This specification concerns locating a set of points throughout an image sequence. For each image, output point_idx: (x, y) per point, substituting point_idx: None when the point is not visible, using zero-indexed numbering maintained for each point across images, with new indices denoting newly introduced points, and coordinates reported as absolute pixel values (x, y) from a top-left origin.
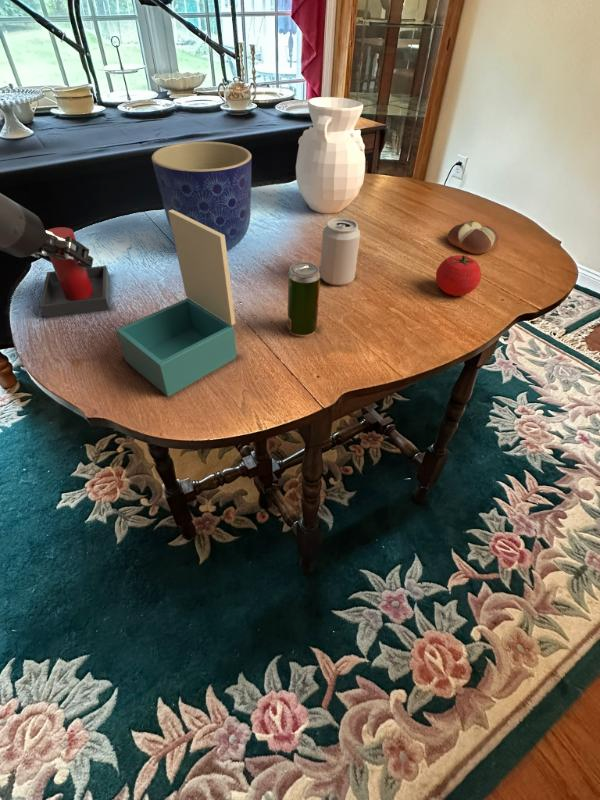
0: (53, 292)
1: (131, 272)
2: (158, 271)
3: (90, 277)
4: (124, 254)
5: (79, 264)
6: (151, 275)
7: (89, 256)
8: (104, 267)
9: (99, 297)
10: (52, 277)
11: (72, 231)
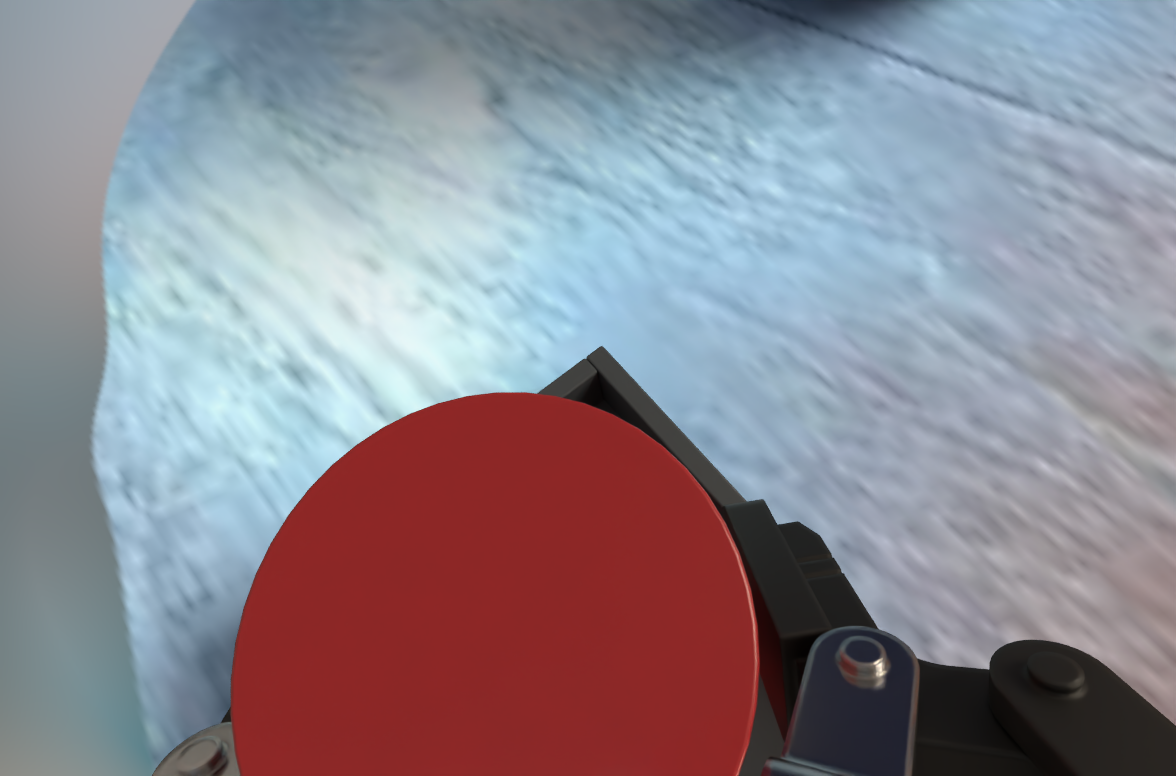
0: None
1: (692, 285)
2: (833, 210)
3: None
4: (510, 154)
5: (769, 696)
6: (831, 261)
7: (775, 527)
8: (610, 370)
9: None
10: None
11: (667, 460)
